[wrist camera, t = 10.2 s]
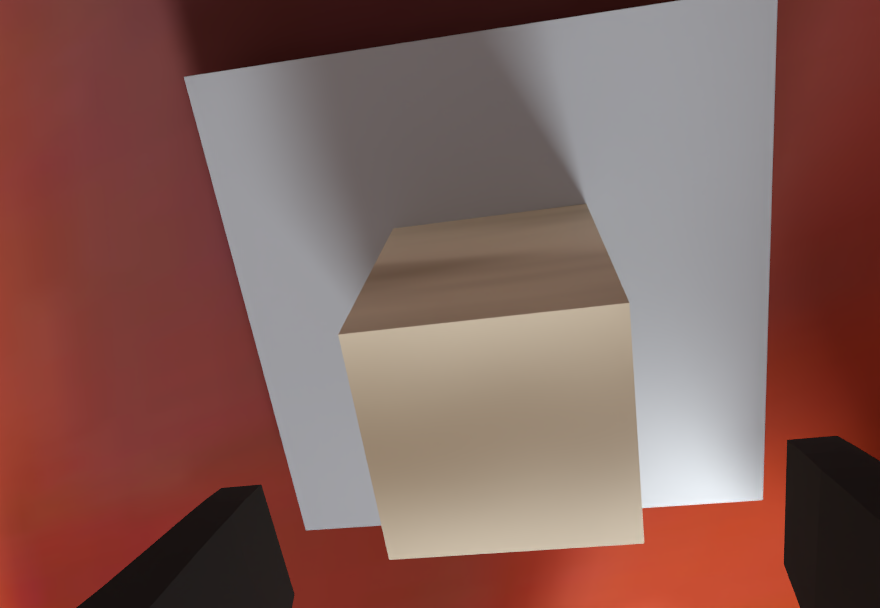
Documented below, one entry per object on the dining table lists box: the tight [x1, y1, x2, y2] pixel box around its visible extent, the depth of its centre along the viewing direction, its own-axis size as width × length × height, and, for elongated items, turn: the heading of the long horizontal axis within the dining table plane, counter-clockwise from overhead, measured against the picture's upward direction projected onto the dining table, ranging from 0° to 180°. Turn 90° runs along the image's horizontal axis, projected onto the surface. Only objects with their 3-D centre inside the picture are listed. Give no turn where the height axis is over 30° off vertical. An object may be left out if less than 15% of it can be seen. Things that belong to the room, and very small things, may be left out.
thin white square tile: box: [184, 0, 778, 530], centre depth 18 cm, size 13×13×2 cm
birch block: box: [338, 204, 644, 560], centre depth 14 cm, size 4×4×6 cm
